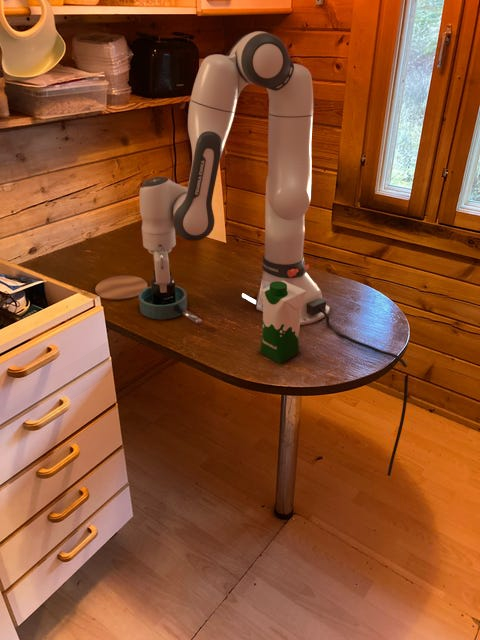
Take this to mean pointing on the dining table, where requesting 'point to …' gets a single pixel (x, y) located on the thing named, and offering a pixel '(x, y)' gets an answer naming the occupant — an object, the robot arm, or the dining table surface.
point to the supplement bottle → (165, 297)
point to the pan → (161, 310)
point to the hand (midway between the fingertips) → (162, 284)
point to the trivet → (120, 287)
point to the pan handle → (188, 315)
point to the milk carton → (281, 320)
